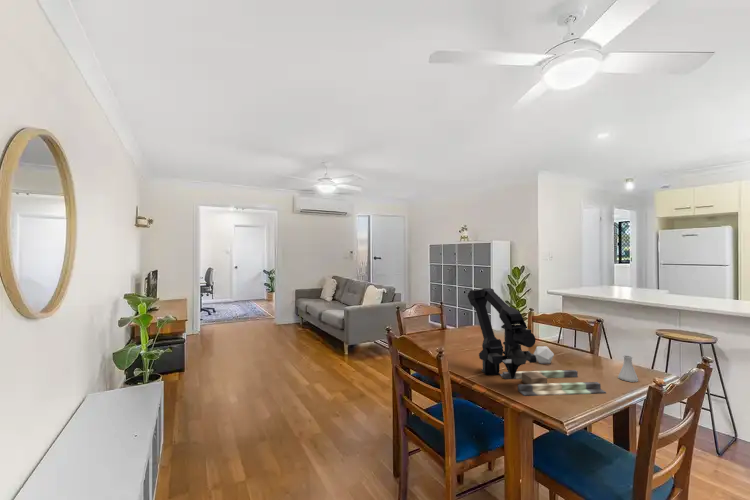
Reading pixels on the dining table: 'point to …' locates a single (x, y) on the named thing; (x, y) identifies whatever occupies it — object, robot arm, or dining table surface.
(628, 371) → the flask
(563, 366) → the dining table surface
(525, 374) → the walnut block
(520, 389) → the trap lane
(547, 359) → the die
